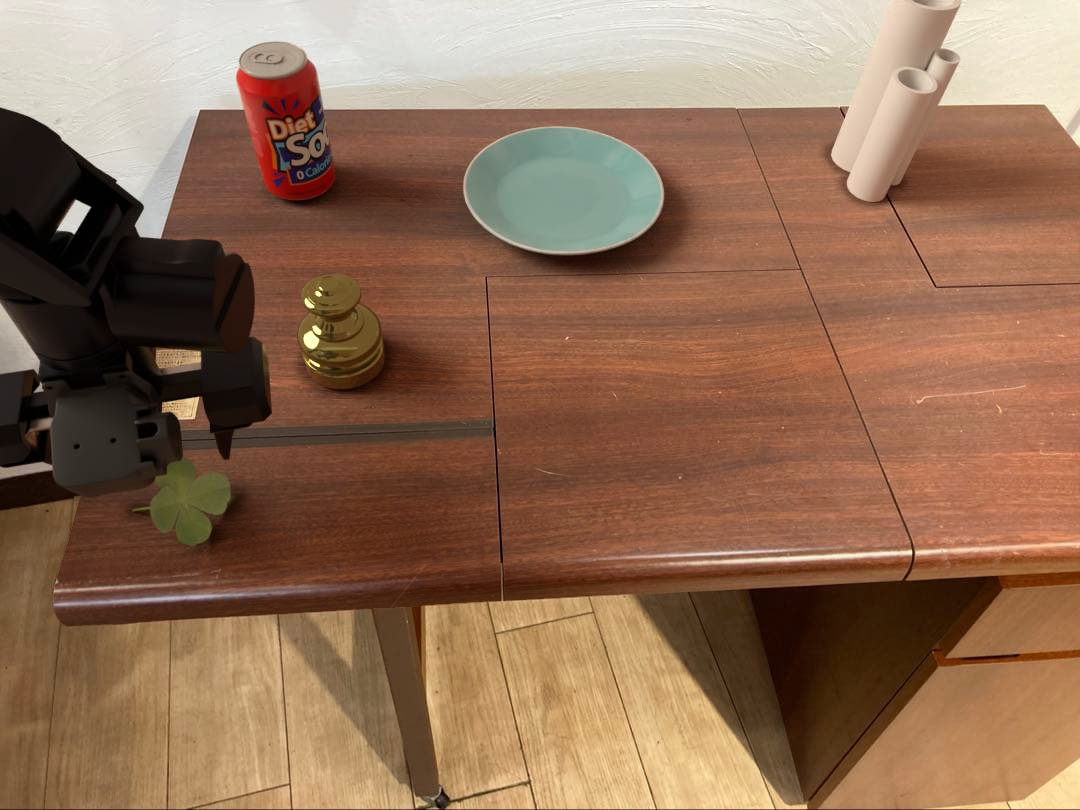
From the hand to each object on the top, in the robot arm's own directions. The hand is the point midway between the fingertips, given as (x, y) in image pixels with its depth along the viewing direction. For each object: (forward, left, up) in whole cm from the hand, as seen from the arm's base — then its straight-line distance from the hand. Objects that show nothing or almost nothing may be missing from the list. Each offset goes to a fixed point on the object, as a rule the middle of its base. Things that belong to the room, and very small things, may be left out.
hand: (162, 466), depth 61 cm
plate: (+40, +31, -6) cm, 51 cm away
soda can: (+12, +40, -6) cm, 42 cm away
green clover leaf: (0, 0, -7) cm, 7 cm away
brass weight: (+14, +13, -6) cm, 20 cm away
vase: (+78, +30, -6) cm, 84 cm away
